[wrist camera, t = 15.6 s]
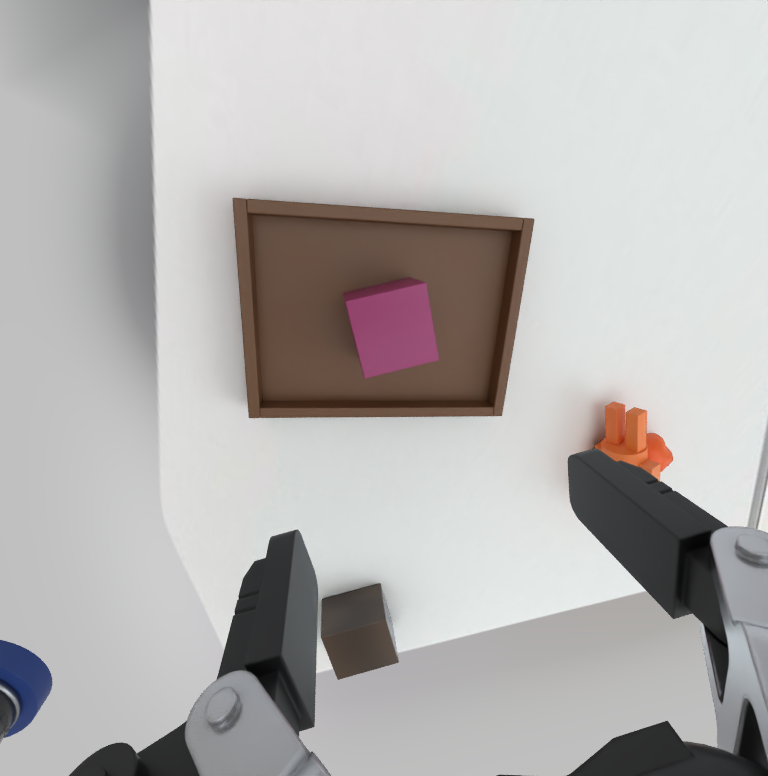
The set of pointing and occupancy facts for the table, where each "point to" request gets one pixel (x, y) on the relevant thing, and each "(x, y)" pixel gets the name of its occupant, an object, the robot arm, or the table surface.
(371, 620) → the dark brown block
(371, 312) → the mulberry block
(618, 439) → the orange toy animal
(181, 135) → the table surface
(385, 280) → the tray
